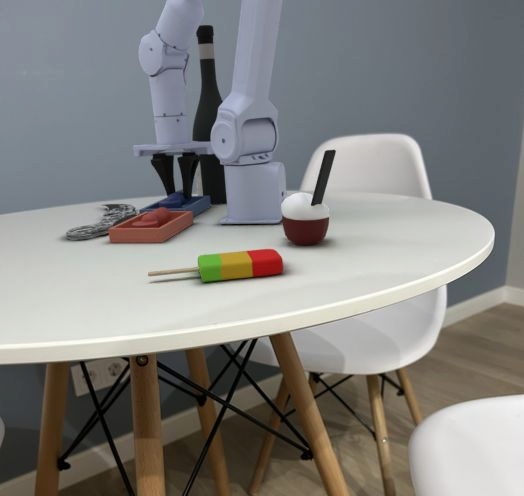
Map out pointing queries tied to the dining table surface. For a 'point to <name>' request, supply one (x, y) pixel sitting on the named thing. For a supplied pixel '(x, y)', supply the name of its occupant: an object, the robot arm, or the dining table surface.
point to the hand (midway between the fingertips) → (179, 197)
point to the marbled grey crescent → (104, 222)
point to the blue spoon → (174, 200)
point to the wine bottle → (208, 121)
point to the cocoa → (308, 209)
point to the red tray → (150, 229)
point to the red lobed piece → (154, 219)
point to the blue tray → (194, 205)
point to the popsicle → (233, 265)
